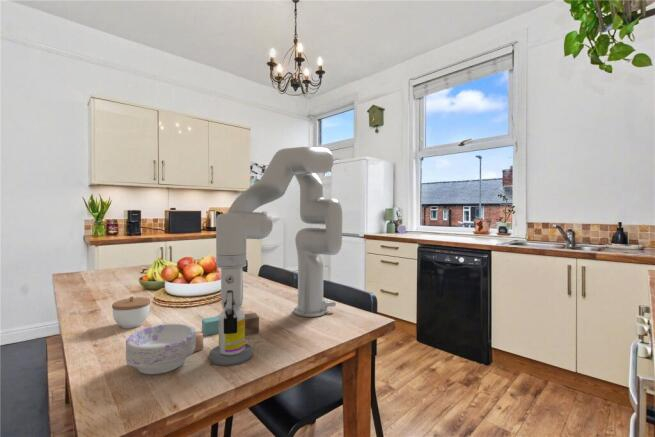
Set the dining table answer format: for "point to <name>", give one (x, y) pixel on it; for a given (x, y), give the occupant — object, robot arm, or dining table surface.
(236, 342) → the supplement bottle
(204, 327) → the teal block
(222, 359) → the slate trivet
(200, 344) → the glossy tan egg
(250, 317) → the walnut cube
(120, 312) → the lidded jar
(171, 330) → the paper bowls
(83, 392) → the dining table surface
